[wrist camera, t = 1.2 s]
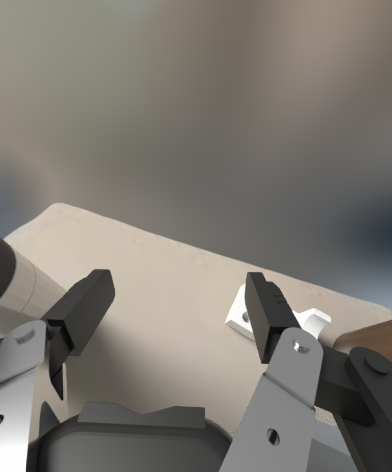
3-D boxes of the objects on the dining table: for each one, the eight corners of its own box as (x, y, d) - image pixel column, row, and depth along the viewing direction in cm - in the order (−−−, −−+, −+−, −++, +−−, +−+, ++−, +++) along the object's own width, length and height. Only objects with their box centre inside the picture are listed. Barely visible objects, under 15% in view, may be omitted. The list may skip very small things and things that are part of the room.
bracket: (300, 325, 34) (330, 317, 28) (294, 366, 30) (328, 366, 24) (237, 290, 36) (253, 274, 30) (224, 323, 32) (239, 313, 26)
